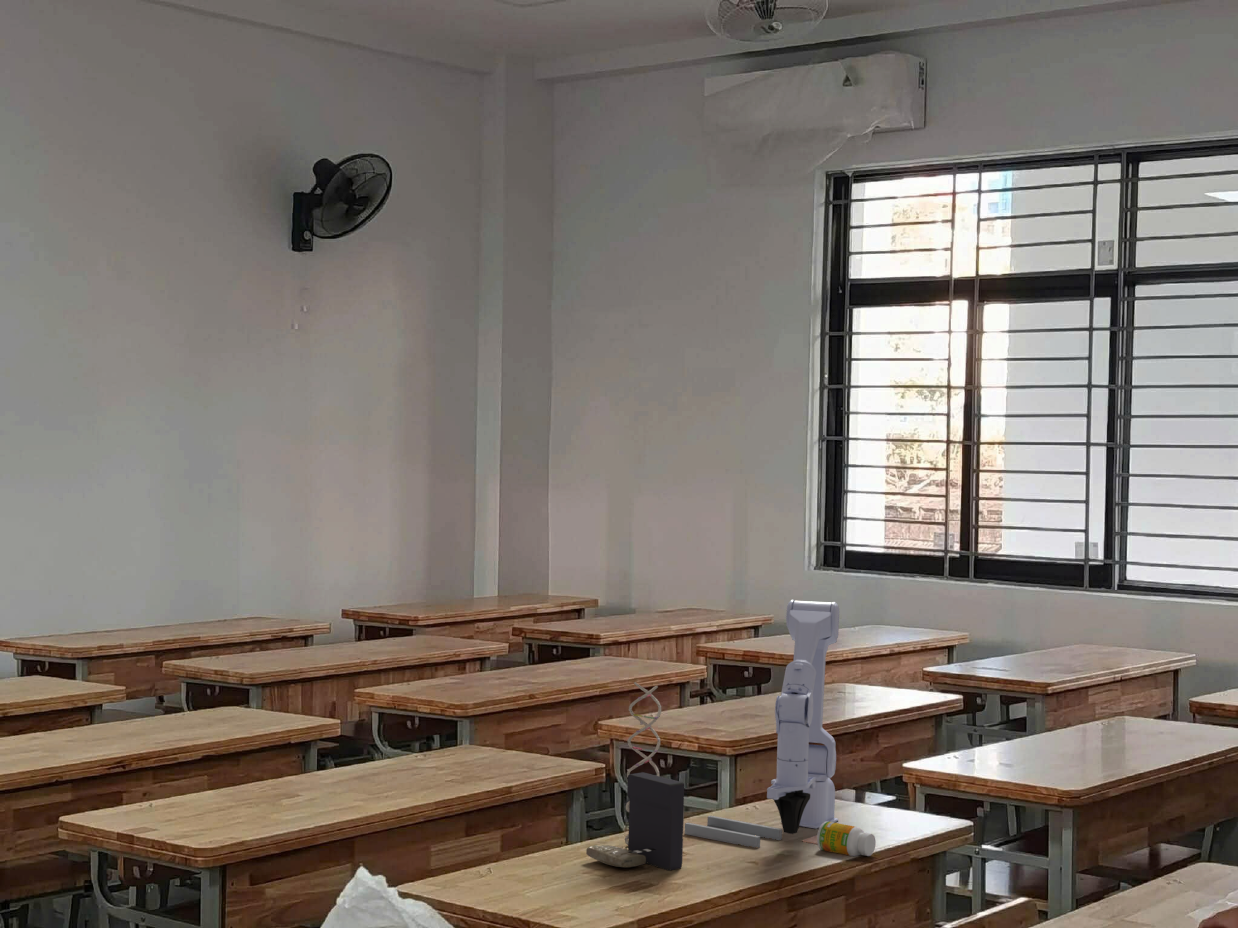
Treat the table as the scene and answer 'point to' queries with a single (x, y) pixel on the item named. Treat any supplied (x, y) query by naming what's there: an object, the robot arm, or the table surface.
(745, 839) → the channel
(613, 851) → the cuneiform tablet
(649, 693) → the dna model
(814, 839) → the tile
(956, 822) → the table surface
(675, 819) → the black upright block
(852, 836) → the supplement bottle
